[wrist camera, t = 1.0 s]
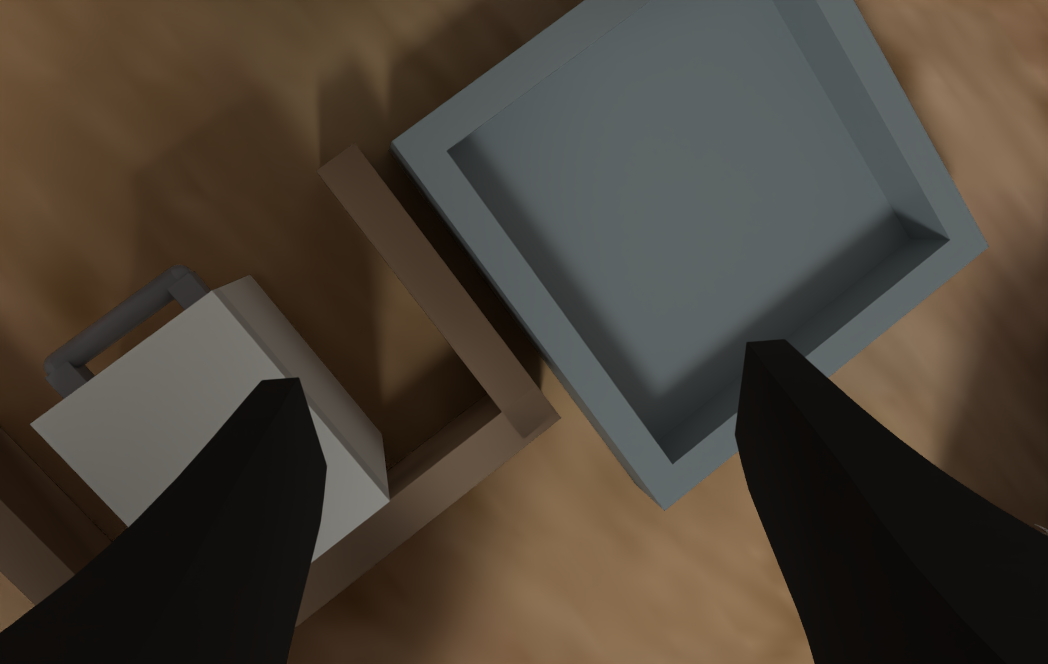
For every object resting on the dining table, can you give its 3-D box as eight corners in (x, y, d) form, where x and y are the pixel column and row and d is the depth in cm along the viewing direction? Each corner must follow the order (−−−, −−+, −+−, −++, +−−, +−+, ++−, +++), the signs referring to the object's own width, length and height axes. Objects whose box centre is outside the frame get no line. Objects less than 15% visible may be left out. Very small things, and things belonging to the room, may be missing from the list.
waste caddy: (259, 528, 23) (226, 629, 17) (92, 343, 21) (-7, 386, 16) (381, 433, 23) (390, 501, 18) (227, 245, 22) (179, 251, 16)
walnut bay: (185, 678, 23) (164, 731, 21) (-47, 445, 21) (-101, 473, 18) (540, 399, 24) (561, 418, 22) (354, 152, 22) (354, 142, 20)
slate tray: (636, 484, 25) (664, 510, 23) (388, 150, 22) (392, 141, 20) (933, 245, 26) (988, 246, 24) (735, -104, 23) (776, -140, 21)
